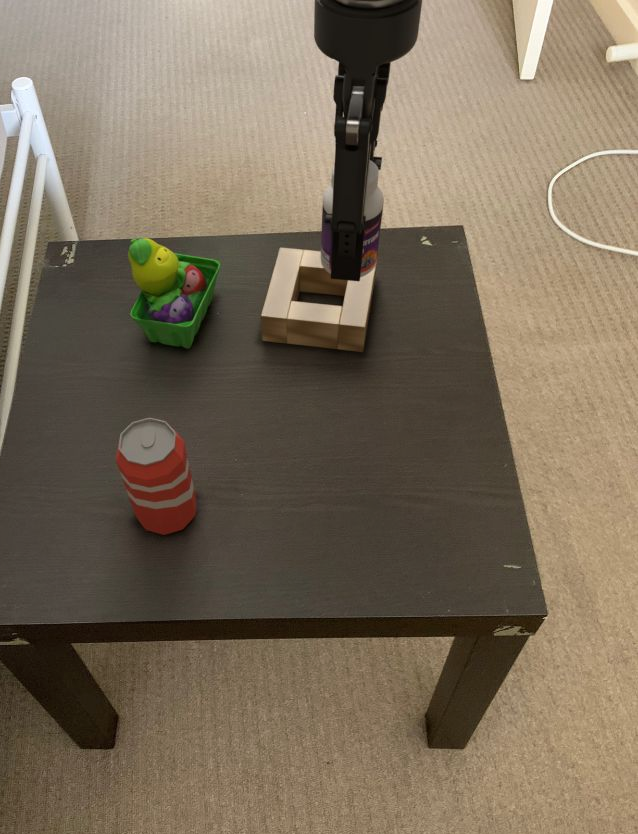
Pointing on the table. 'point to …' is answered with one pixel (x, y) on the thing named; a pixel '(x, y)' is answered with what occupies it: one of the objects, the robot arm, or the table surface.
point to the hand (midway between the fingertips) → (349, 254)
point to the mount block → (313, 320)
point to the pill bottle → (372, 222)
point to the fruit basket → (170, 292)
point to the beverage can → (156, 475)
